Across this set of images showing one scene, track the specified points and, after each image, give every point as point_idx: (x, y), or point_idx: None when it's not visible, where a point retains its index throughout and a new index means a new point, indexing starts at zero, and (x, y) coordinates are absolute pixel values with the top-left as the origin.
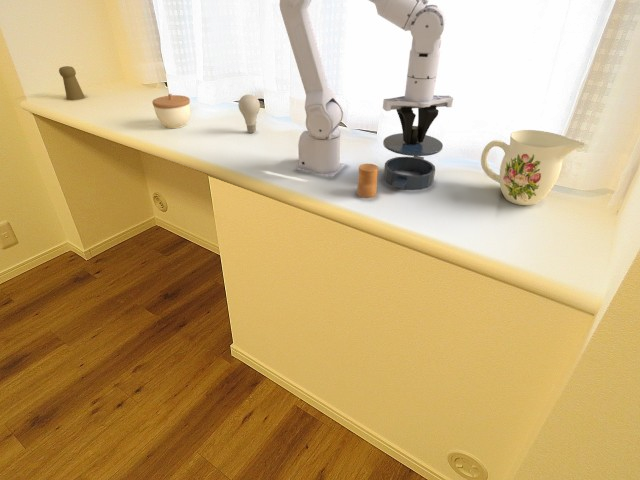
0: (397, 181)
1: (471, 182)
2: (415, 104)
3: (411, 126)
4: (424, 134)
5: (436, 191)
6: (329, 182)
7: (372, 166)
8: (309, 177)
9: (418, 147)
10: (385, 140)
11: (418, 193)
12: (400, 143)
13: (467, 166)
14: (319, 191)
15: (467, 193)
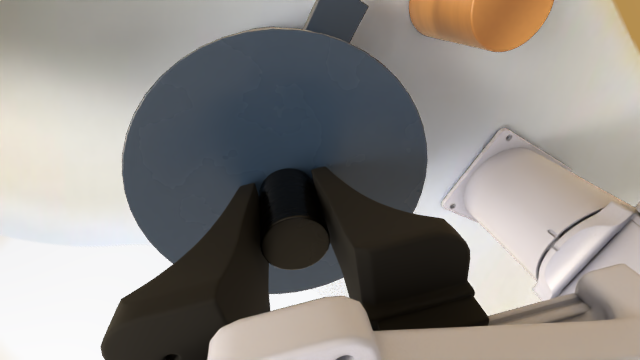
0: (348, 15)
1: (27, 114)
2: (418, 348)
3: (340, 209)
4: (233, 205)
5: (176, 33)
6: (514, 103)
7: (495, 11)
8: (553, 134)
9: (268, 132)
10: (406, 209)
11: (250, 16)
12: (349, 181)
13: (53, 235)
14: (565, 39)
15: (38, 11)
